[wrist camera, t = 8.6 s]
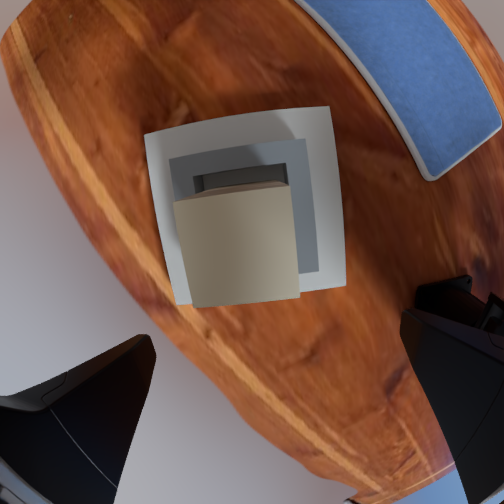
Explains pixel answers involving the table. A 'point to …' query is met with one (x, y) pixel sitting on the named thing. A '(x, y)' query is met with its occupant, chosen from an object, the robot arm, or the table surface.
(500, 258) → the table surface
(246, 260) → the peg
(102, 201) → the table surface
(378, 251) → the table surface
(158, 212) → the socket board
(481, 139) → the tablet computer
